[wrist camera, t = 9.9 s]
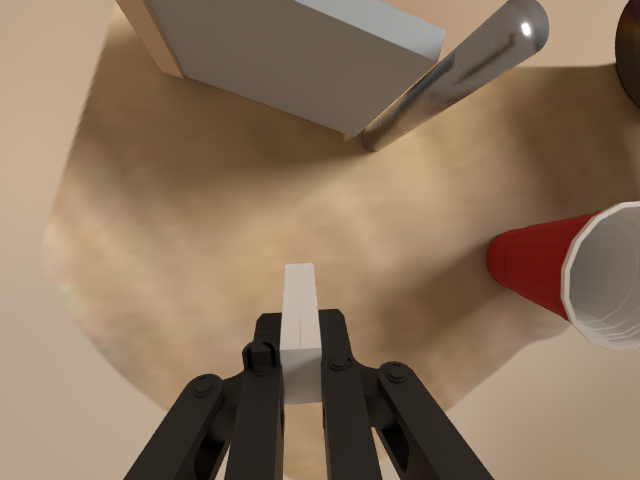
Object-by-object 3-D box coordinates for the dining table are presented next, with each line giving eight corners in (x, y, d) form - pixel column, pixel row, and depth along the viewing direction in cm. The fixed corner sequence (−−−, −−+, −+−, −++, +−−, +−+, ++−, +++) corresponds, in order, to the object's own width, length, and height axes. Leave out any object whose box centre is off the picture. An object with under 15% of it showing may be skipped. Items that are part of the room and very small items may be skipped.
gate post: (384, 124, 31) (546, -6, 14) (387, 150, 32) (551, 54, 14) (360, 127, 31) (495, -4, 13) (363, 152, 31) (501, 57, 13)
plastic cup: (444, 281, 33) (546, 312, 21) (493, 188, 34) (619, 169, 22) (524, 328, 35) (657, 380, 23) (569, 240, 36) (721, 247, 24)
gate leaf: (360, 117, 30) (460, 11, 15) (354, 140, 30) (447, 57, 15) (168, 44, 27) (56, -178, 12) (160, 70, 27) (39, -120, 12)
